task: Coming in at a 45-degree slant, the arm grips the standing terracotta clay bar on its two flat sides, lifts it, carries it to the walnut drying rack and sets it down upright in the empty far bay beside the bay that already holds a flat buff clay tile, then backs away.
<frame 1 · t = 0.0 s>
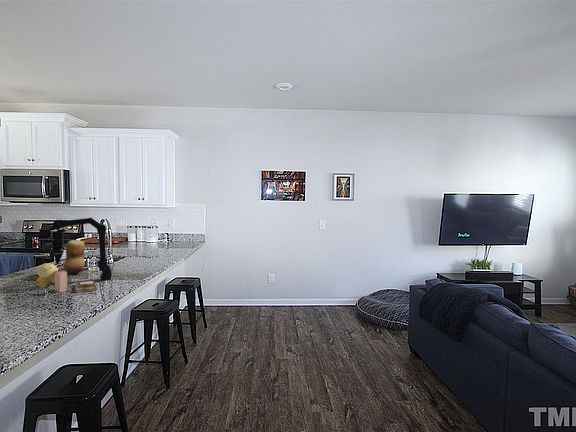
hand: (58, 262, 237), 15 cm above the counter, tool pointing down, fingers open, 9 cm apart
decorative fish: (51, 285, 237), on the counter
clay bar: (61, 292, 220), on the counter
rack: (85, 290, 227), on the counter
butternut squash: (74, 273, 273), on the counter
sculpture: (47, 278, 256), on the counter
clay tile: (86, 285, 233), point 1 cm above the counter, touching rack
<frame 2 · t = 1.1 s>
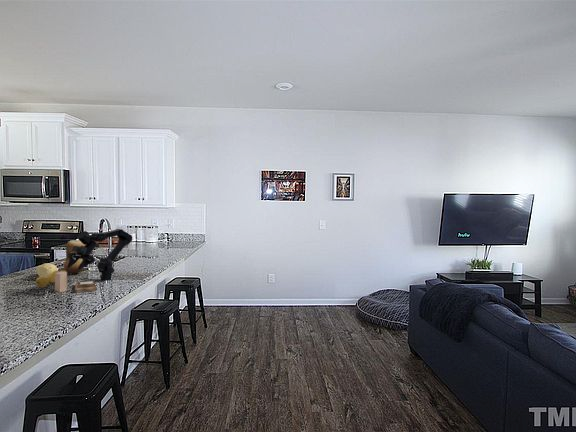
hand: (72, 268, 227), 13 cm above the counter, tool tilted 45°, fingers open, 9 cm apart
nothing on the counter moved.
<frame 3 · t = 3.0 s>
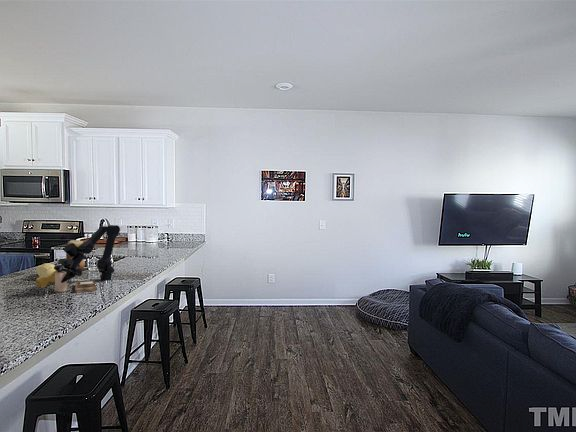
hand: (58, 282, 218), 7 cm above the counter, tool tilted 45°, fingers closed on clay bar, 4 cm apart
clay bar: (61, 292, 220), on the counter, touching gripper
everything else where it was.
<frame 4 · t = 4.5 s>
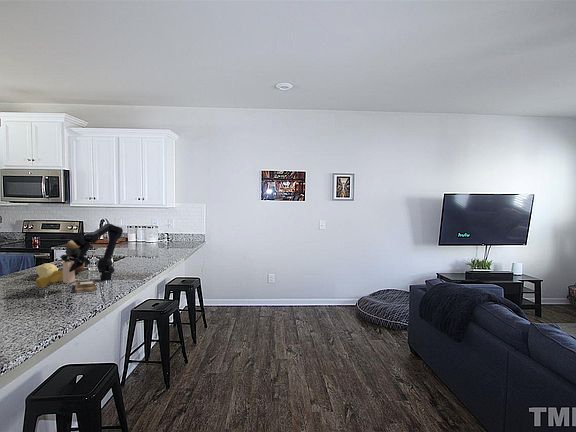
hand: (66, 271, 219), 13 cm above the counter, tool tilted 45°, fingers closed on clay bar, 4 cm apart
clay bar: (68, 281, 220), point 7 cm above the counter, touching gripper
everything else where it was.
when the fingers open (9 cm above the counter, at t = 6.2 s): clay bar drops 1 cm, resting on rack.
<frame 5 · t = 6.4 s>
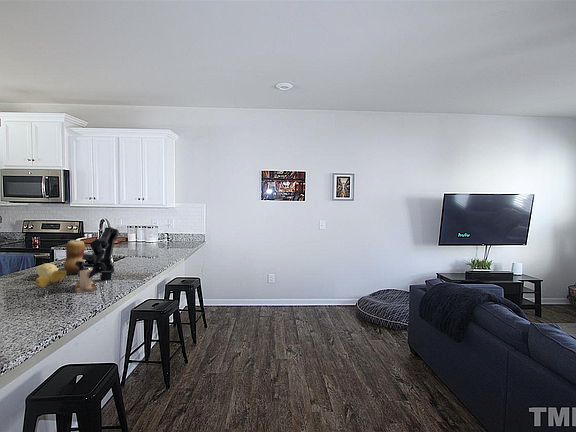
hand: (83, 277, 222), 9 cm above the counter, tool tilted 45°, fingers open, 7 cm apart
clay bar: (85, 289, 223), point 1 cm above the counter, touching rack
everything else where it was.
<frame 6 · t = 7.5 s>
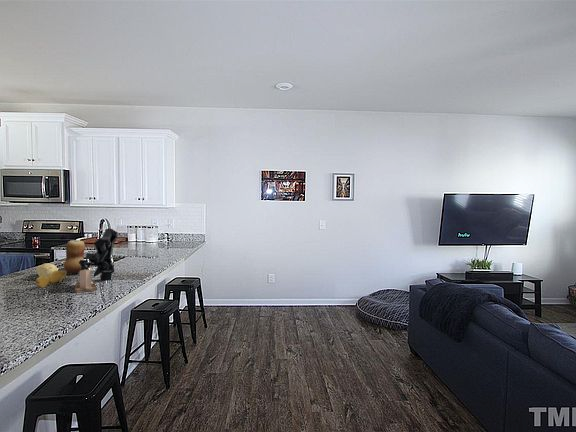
hand: (87, 276, 225), 9 cm above the counter, tool tilted 45°, fingers open, 9 cm apart
nothing on the counter moved.
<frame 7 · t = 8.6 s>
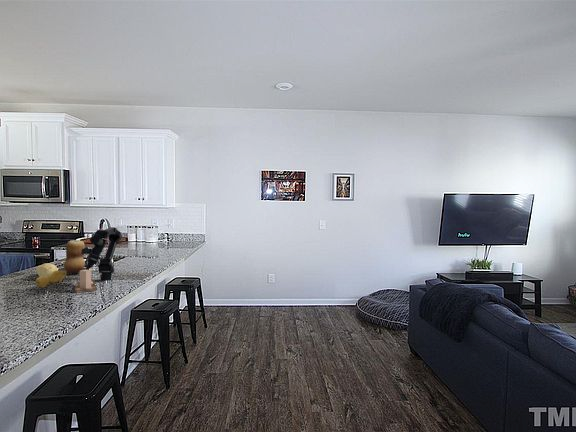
hand: (86, 270, 232), 11 cm above the counter, tool tilted 30°, fingers open, 9 cm apart
nothing on the counter moved.
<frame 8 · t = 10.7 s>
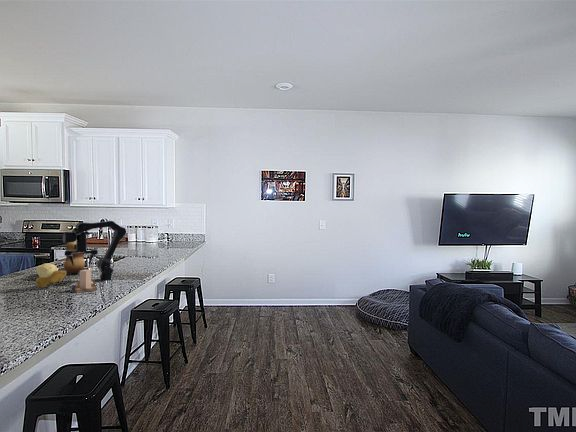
hand: (81, 265, 239), 13 cm above the counter, tool pointing down, fingers open, 9 cm apart
nothing on the counter moved.
at the end: clay bar inside the target area on the rack (0.2 cm from its centre), point 1.2 cm above the rack's base; clay bar tilted 0°; the gripper is holding nothing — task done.
